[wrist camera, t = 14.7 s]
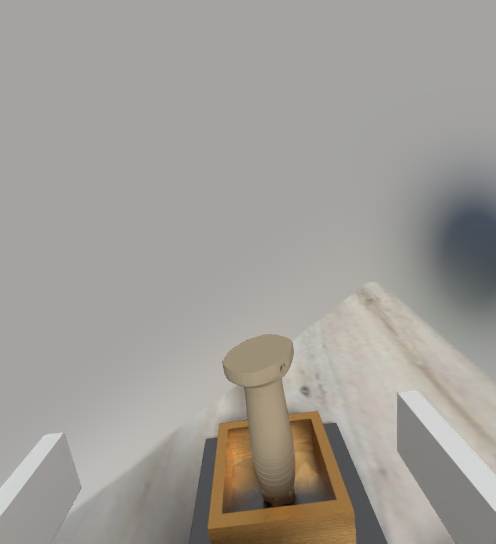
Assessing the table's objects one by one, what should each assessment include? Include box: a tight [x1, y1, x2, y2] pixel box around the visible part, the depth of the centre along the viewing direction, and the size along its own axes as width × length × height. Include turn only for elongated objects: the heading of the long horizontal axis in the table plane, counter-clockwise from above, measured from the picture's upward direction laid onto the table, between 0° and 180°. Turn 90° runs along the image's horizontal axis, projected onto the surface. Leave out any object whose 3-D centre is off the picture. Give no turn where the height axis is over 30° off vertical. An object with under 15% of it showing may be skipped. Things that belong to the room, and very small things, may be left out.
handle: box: [222, 334, 295, 507], centre depth 27 cm, size 5×6×15 cm
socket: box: [189, 411, 387, 544], centre depth 28 cm, size 16×16×5 cm
